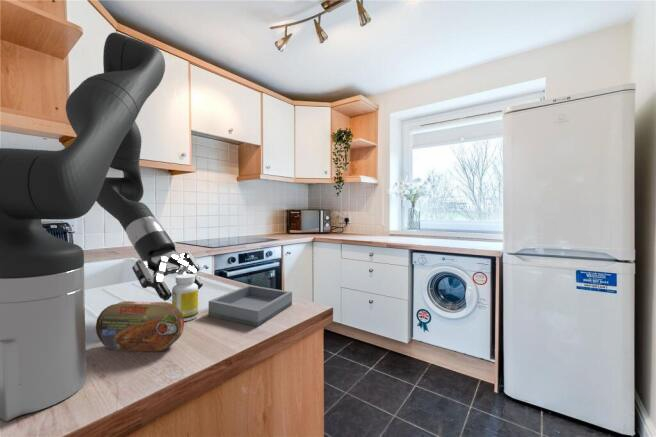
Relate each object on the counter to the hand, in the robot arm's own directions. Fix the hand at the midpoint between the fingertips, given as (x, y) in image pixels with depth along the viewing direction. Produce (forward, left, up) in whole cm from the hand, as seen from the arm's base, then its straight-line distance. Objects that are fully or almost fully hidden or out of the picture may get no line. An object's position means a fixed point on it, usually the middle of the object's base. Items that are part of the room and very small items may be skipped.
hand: (185, 292), depth 66 cm
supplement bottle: (0, 0, -6) cm, 6 cm away
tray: (+10, -11, -6) cm, 16 cm away
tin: (-13, -4, -6) cm, 15 cm away
